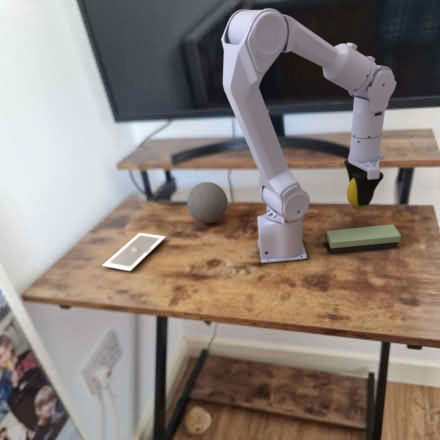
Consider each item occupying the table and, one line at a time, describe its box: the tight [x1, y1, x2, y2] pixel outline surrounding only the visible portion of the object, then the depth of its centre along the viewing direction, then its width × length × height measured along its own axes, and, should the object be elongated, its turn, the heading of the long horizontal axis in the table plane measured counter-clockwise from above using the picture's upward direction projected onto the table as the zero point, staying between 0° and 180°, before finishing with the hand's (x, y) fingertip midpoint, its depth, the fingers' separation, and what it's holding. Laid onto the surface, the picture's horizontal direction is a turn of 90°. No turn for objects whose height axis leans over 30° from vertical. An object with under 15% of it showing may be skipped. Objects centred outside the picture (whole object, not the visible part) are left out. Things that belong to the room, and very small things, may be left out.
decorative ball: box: [186, 181, 228, 224], centre depth 100 cm, size 10×10×10 cm
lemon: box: [346, 178, 375, 210], centre depth 86 cm, size 6×6×8 cm
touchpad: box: [101, 232, 167, 272], centre depth 93 cm, size 8×15×2 cm, turn 155°
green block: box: [325, 224, 402, 255], centre depth 85 cm, size 14×5×3 cm, turn 90°
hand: (359, 198), depth 87 cm, fingers closed on lemon, 5 cm apart
